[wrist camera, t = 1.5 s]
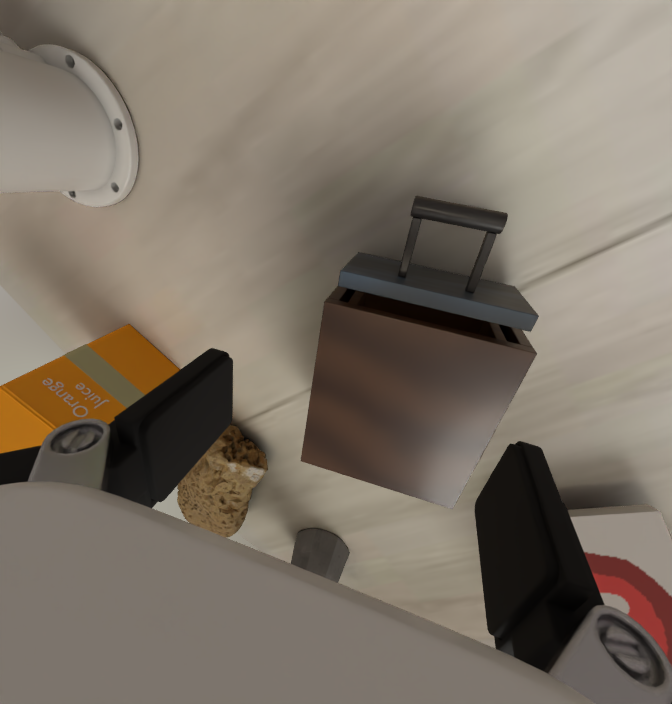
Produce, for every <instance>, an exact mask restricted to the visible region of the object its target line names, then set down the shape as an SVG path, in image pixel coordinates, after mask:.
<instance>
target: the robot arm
mask: <svg viewBox="0 0 672 704" xmlns="http://www.w3.org/2000/svg"><path fill="white" fill-rule="evenodd" d="M138 160H139V157H138V144H137V139H136V134H135V129H134V126H133V123H132V120H131V117H130V114H129V112H128V110H127V108H126V106H125V103H124V101H123V99H122V97H121V96H120V94H119V93H118V91H117V89H116V88H115V86H114V85H113V83H112V82H111V81H110V80H109V78H108V77H107V76H106V75H105V74H104V73H103V71H102V70H101V69H100V68H99V67H97V66H96V65H95V64H94V63H93V62H92V61H90V60H89V59H88V58H86V57H84V56H83V55H81V54H79V53H78V52H76V51H73V50H70V49H67V48H65V47H62V46H58V45H52V44H45V45H38V46H36V47H34V48H32V49H30V50H28V51H26V50H23V49H20V48H19V47H18V46H17V45H16V43H15V42H14V41H13V40H12V39H10V38H8V37H6V36H3V34H2V33H1V32H0V193H19V192H50V191H60V192H61V193H62V194H63V195H65V196H66V197H68V198H69V199H71V200H73V201H75V202H77V203H79V204H82V205H85V206H90V207H107V206H111V205H115V204H117V203H118V202H120V201H122V200H123V199H124V198H125V197H126V196H127V195H128V194H129V193H130V191H131V189H132V187H133V185H134V183H135V179H136V175H137V172H138ZM232 409H233V360H232V358H229V354H228V353H227V352H224V351H220V350H217V349H214V348H211V349H209V350H207V351H206V352H205V353H203V354H202V355H200V356H199V357H198V358H196V359H195V360H193V361H192V362H191V363H189V364H188V365H186V366H185V367H184V368H182V369H181V370H179V371H178V372H177V373H175V374H174V375H173V376H171V377H170V378H168V379H167V380H166V381H164V382H163V383H161V384H160V385H159V386H157V387H156V388H154V389H153V390H152V391H150V392H149V393H147V394H146V395H145V396H143V397H142V398H140V399H139V400H138V401H136V402H135V403H133V404H132V405H131V406H129V407H128V408H126V409H125V410H124V411H122V412H121V413H120V414H118V415H117V416H115V417H114V419H115V420H114V421H112V422H111V423H110V424H107V423H106V422H104V421H102V420H99V419H80V420H75V421H71V422H69V423H66V424H64V425H61V426H60V427H58V428H56V429H54V430H53V431H52V432H51V433H50V434H48V435H47V436H46V438H45V439H44V441H43V443H42V445H40V446H35V447H30V448H25V449H20V450H15V451H10V452H5V453H0V704H672V666H671V664H670V662H669V660H668V658H667V657H666V655H665V653H664V651H663V650H662V649H661V647H660V646H659V645H658V643H657V642H656V641H655V639H654V638H653V637H652V636H651V635H650V634H649V633H648V632H647V631H646V630H645V629H644V628H643V627H642V626H641V625H640V624H639V623H638V622H637V621H635V620H634V619H633V618H631V617H630V616H629V615H627V614H626V613H624V612H622V611H620V610H618V609H616V608H614V607H610V606H607V605H605V604H604V602H603V599H602V597H601V594H600V592H599V589H598V587H597V584H596V581H595V579H594V576H593V574H592V571H591V569H590V566H589V564H588V561H587V559H586V556H585V553H584V551H583V548H582V546H581V543H580V541H579V538H578V536H577V533H576V531H575V528H574V525H573V523H572V520H571V518H570V515H569V513H568V510H567V508H566V506H565V504H564V503H563V502H562V500H561V498H560V495H559V492H558V490H557V487H556V485H555V482H554V479H553V477H552V474H551V472H550V469H549V466H548V464H547V461H546V459H545V456H544V454H543V451H542V449H541V448H540V447H538V446H534V445H531V444H528V443H524V442H521V441H518V442H517V443H516V444H510V445H509V446H508V447H507V449H506V451H505V452H504V454H503V456H502V457H501V459H500V461H499V462H498V464H497V466H496V468H495V469H494V471H493V473H492V474H491V476H490V478H489V479H488V481H487V483H486V485H485V486H484V488H483V490H482V491H481V493H480V495H479V496H478V498H477V500H476V504H475V517H476V527H477V536H478V545H479V554H480V564H481V573H482V582H483V591H484V600H485V610H486V619H487V627H488V631H489V633H490V634H491V635H493V636H494V638H495V646H496V649H495V648H492V647H490V646H488V645H485V644H483V643H481V642H478V641H476V640H474V639H471V638H469V637H467V636H465V635H462V634H460V633H458V632H455V631H453V630H451V629H448V628H446V627H444V626H441V625H439V624H436V623H434V622H432V621H429V620H427V619H424V618H422V617H419V616H417V615H415V614H412V613H410V612H407V611H405V610H402V609H400V608H398V607H395V606H393V605H390V604H388V603H385V602H383V601H381V600H378V599H376V598H373V597H371V596H368V595H366V594H364V593H361V592H359V591H356V590H354V589H351V588H349V587H346V586H344V585H342V584H339V583H337V582H334V581H332V580H329V579H327V578H324V577H322V576H319V575H317V574H314V573H312V572H310V571H307V570H305V569H302V568H300V567H297V566H295V565H292V564H290V563H287V562H285V561H282V560H280V559H277V558H275V557H273V556H270V555H268V554H265V553H263V552H260V551H258V550H255V549H253V548H250V547H248V546H245V545H243V544H240V543H238V542H235V541H233V540H230V539H228V538H225V537H223V536H220V535H218V534H215V533H213V532H210V531H208V530H205V529H203V528H200V527H198V526H195V525H193V524H190V523H188V522H185V521H182V520H180V519H178V518H175V517H173V516H170V515H168V514H165V513H162V512H160V511H157V510H154V509H152V507H153V506H154V505H155V504H156V503H157V502H162V501H163V500H165V499H166V498H167V496H168V495H169V494H170V493H171V492H172V491H173V490H174V488H175V487H176V486H177V485H178V484H179V483H180V482H181V480H182V479H183V478H184V477H185V476H186V475H187V474H188V472H189V471H190V470H191V469H192V468H193V467H194V465H195V464H196V463H197V462H198V461H199V460H200V459H201V457H202V456H203V455H204V454H205V453H206V452H207V451H208V449H209V448H210V447H211V446H212V445H213V444H214V442H215V441H216V440H217V439H218V438H219V437H220V436H221V434H222V433H223V432H224V431H225V430H226V429H227V428H228V426H229V425H230V423H231V421H232Z"/></svg>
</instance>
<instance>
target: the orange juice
mask: <svg viewBox="0 0 672 704" xmlns="http://www.w3.org/2000/svg"><path fill="white" fill-rule="evenodd" d="M179 370H180V369H178V368H177V367H176V366H175V365H174V364H173V363H172V362H171V361H170V360H168V359H167V358H166V357H165V356H164V355H163V354H162V353H161V352H160V351H159V350H157V349H156V348H155V347H154V346H153V345H152V344H151V343H150V342H149V341H147V340H146V339H145V338H144V337H143V336H142V335H141V334H140V333H139V332H137V331H136V330H135V329H134V328H133V327H132V326H131V325H130V324H128V325H126V326H124V327H122V328H120V329H118V330H115V331H113V332H111V333H109V334H107V335H105V336H103V337H101V338H99V339H97V340H95V341H93V342H91V343H89V344H85V345H83V346H81V347H79V348H77V349H75V350H73V351H71V352H69V353H67V354H65V355H63V356H62V357H60V358H58V359H55V360H53V361H51V362H49V363H47V364H45V365H43V366H41V367H39V368H37V369H35V370H33V371H31V372H29V373H27V374H24V375H22V376H20V377H18V378H16V379H14V380H12V381H10V382H8V383H6V384H4V385H2V386H0V453H5V452H10V451H15V450H20V449H25V448H30V447H35V446H40V445H42V443H43V441H44V439H45V438H46V436H47V435H48V434H50V433H51V432H52V431H53V430H54V429H56V428H58V427H60V426H61V425H64V424H66V423H69V422H71V421H75V420H80V419H99V420H102V421H104V422H106V423H107V424H110V423H111V422H112V421H114V420H115V419H114V417H115V416H117V415H118V414H120V413H121V412H122V411H124V410H125V409H126V408H128V407H129V406H131V405H132V404H133V403H135V402H136V401H138V400H139V399H140V398H142V397H143V396H145V395H146V394H147V393H149V392H150V391H152V390H153V389H154V388H156V387H157V386H159V385H160V384H161V383H163V382H164V381H166V380H167V379H168V378H170V377H171V376H173V375H174V374H175V373H177V372H178V371H179Z"/></svg>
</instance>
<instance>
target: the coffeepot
mask: <svg viewBox="0 0 672 704" xmlns="http://www.w3.org/2000/svg"><path fill="white" fill-rule="evenodd" d="M349 553H350V552H349V551H348V549H347V547H346V545H345V543H344V542H343V541H342V540H341V539H340V538H338V537H337V536H335V535H334V534H332V533H330V532H328V531H325V530H321V529H314V528H312V529H305V530H303V531H301V532H298V536H297V539H296V542H295V545H294V550H293V555H292V560H291V564H292V565H295V566H297V567H300V568H302V569H305V570H307V571H310V572H312V573H314V574H317V575H319V576H322V577H324V578H327V579H329V580H332V581H334V582H337V583H338V581H339V579H340V576H341V574H342V571H343V568H344V566H345V563H346V561H347V558H348V555H349Z"/></svg>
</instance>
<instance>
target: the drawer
mask: <svg viewBox="0 0 672 704" xmlns="http://www.w3.org/2000/svg"><path fill="white" fill-rule="evenodd" d="M411 216H412V217H413V219H412V223H411V227H410V231H409V234H408V238H407V242H406V246H405V250H404V254H403V258H402V262H401V261H397V260H392V259H388V258H383V257H378V256H374V255H369V254H365V253H360V252H358V253H357V254H356V255H355V256H354V257H353V258H352V259H351V260H350V261H349V262H348V264H347V265H346V266H345V267H344V268H343V269H342V270H341V271H340V277H339V283H338V286H340V287H344V288H348V289H352V290H356V291H355V293H354V294H353V296H352V297H351V299H350V301H349V302H348V303H351V304H355V305H359V306H364V307H368V308H372V309H376V310H380V311H384V312H388V313H392V314H396V315H401V316H405V317H409V318H413V319H417V320H421V321H425V322H429V323H434V324H438V325H442V326H446V327H450V328H454V329H458V330H462V331H466V332H471V333H475V334H479V335H483V336H487V337H491V338H495V339H499V340H503V341H506V339H505V337H504V335H503V333H502V331H501V329H500V326H499V324H500V325H504V326H509V327H513V328H517V329H521V330H525V331H530V332H531V330H532V328H533V326H534V325H535V323H536V321H537V319H538V317H539V316H538V315H537V313H536V312H535V311H534V310H533V308H532V307H531V306H530V305H529V303H528V302H527V301H526V300H525V298H524V297H523V296H522V295H521V294H520V292H519V291H518V290H517V289H516V287H515V286H510V285H506V284H501V283H496V282H492V281H487V280H483V279H480V276H481V274H482V271H483V269H484V266H485V264H486V261H487V258H488V256H489V253H490V251H491V248H492V246H493V243H494V240H495V238H496V235H497V234H500V233H501V232H502V231H503V229H504V227H505V224H506V221H507V217H508V214H507V213H504V212H499V211H493V210H488V209H483V208H478V207H472V206H467V205H462V204H457V203H452V202H446V201H441V200H436V199H431V198H425V197H420V196H415V199H414V203H413V207H412V211H411ZM421 218H422V219H427V220H432V221H437V222H442V223H447V224H452V225H457V226H462V227H467V228H471V229H476V230H481V231H486V234H485V237H484V240H483V242H482V245H481V248H480V250H479V253H478V256H477V259H476V261H475V264H474V267H473V269H472V272H471V275H470V277H469V276H465V275H460V274H456V273H451V272H447V271H442V270H437V269H433V268H428V267H424V266H419V265H415V264H410V260H411V256H412V253H413V249H414V245H415V242H416V238H417V234H418V231H419V227H420V223H421Z"/></svg>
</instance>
